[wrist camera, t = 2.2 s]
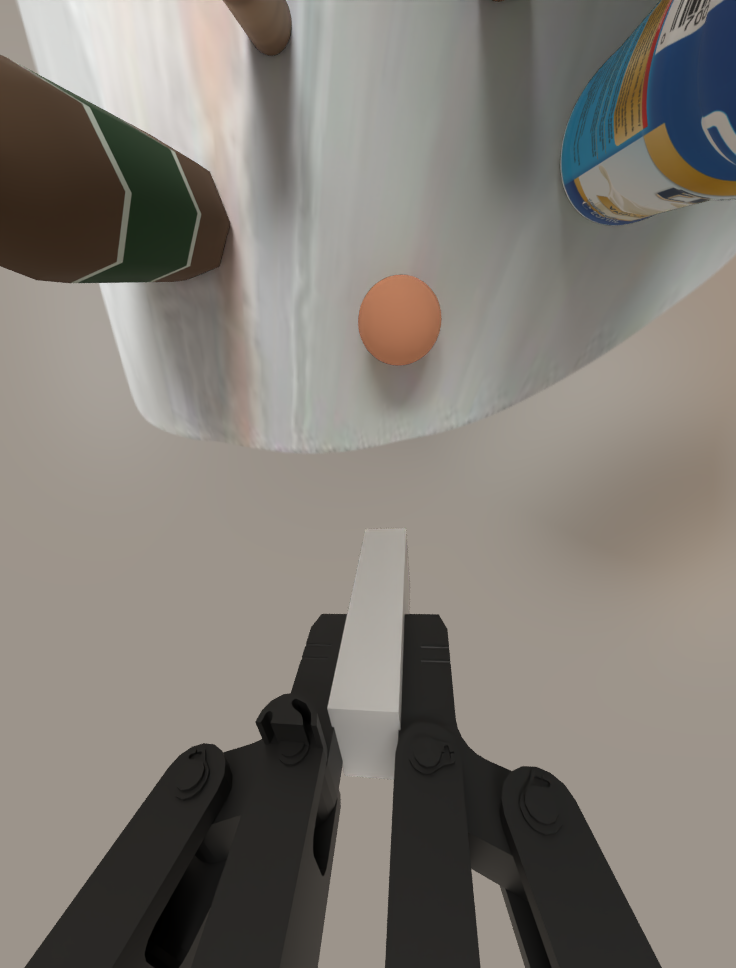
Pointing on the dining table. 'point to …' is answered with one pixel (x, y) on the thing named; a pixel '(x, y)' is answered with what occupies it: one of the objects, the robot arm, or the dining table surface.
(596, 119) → the beverage bottle
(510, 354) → the dining table surface
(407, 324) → the ball
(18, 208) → the beer bottle
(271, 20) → the post
